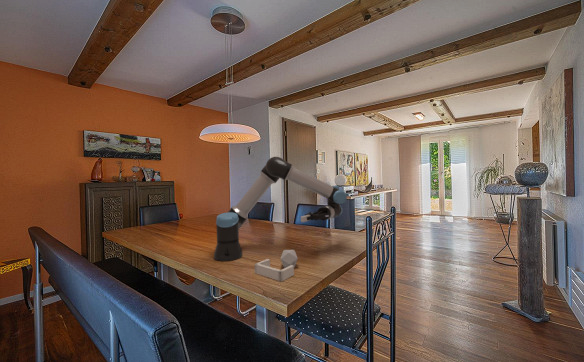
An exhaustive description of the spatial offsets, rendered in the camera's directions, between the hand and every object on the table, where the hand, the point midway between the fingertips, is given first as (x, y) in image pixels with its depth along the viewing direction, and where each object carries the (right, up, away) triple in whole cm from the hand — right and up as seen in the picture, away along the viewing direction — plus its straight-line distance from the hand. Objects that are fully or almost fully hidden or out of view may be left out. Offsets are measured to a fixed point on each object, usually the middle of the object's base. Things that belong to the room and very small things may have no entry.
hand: (301, 219), depth 126 cm
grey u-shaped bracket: (-13, -22, -17) cm, 30 cm away
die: (-6, -22, -8) cm, 24 cm away
